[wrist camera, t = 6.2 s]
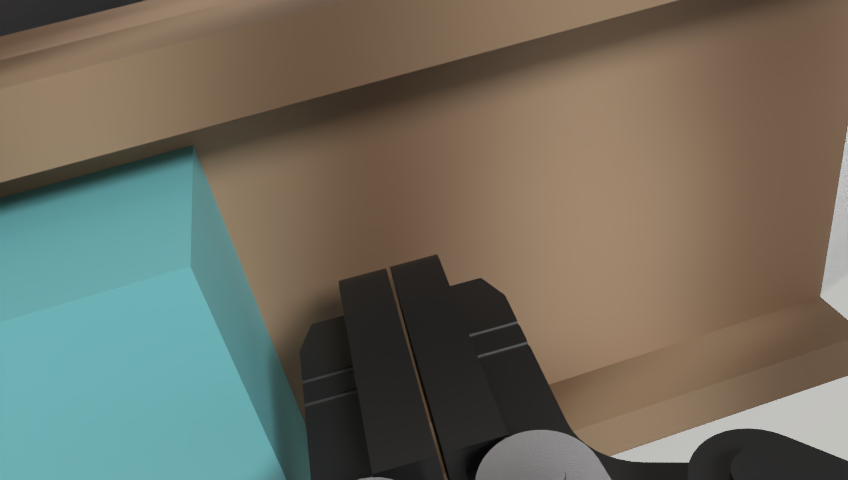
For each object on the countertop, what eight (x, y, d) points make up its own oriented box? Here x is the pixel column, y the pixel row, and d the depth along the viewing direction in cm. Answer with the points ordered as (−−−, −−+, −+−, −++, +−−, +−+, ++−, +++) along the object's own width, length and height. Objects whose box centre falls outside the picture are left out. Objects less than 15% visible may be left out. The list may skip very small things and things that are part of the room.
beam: (846, -283, 10) (999, -298, 8) (771, 347, 17) (846, 421, 15) (-1705, 303, 7) (-2419, 499, 5) (-569, 788, 14) (-695, 955, 12)
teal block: (193, 145, 10) (190, 266, 7) (305, 425, 13) (329, 575, 11) (-366, 298, 9) (-576, 490, 7) (-104, 556, 12) (-181, 752, 10)
